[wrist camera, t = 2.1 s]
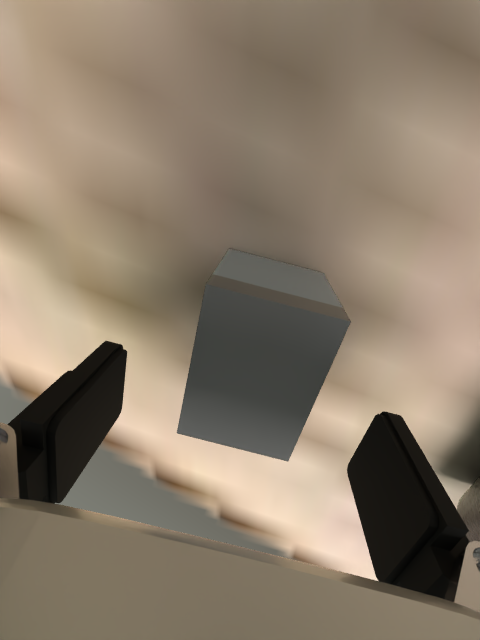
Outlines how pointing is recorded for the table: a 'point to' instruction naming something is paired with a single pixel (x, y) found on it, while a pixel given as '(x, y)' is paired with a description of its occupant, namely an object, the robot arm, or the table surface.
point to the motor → (471, 511)
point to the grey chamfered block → (260, 354)
